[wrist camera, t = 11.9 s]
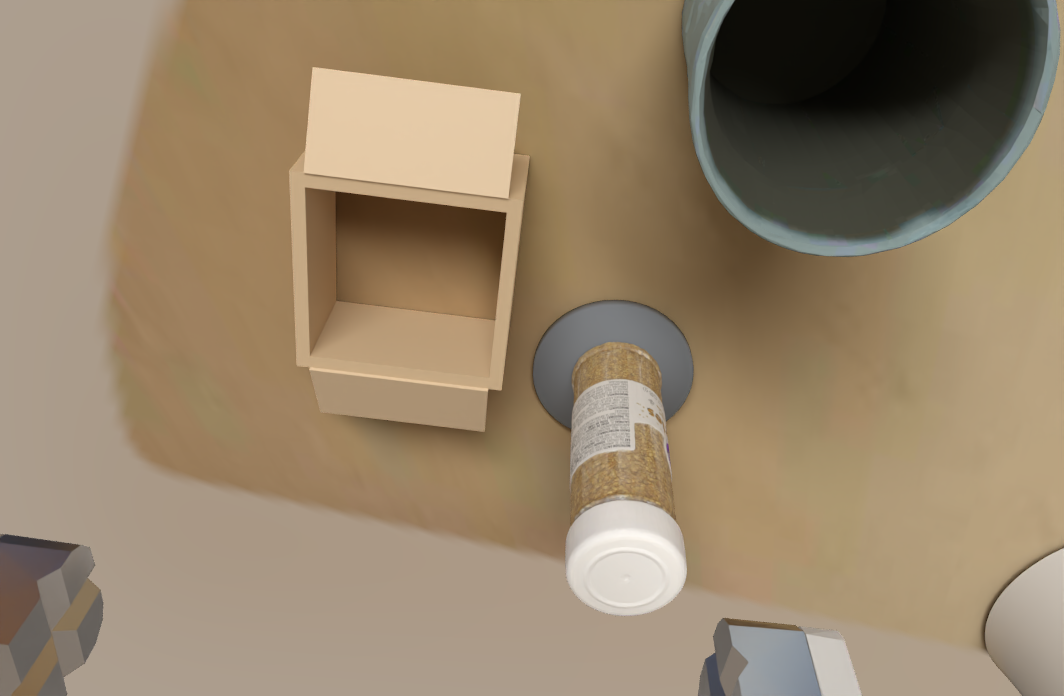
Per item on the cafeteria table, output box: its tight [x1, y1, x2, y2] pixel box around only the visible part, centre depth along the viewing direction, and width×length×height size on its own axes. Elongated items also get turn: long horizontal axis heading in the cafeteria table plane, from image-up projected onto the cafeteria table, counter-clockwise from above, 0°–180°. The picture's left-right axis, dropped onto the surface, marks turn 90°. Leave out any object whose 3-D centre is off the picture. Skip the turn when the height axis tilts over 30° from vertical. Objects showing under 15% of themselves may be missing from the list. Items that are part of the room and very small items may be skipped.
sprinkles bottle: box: [565, 342, 687, 616], centre depth 38 cm, size 5×5×14 cm
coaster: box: [533, 300, 693, 429], centre depth 44 cm, size 8×8×1 cm
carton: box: [289, 67, 530, 432], centre depth 39 cm, size 9×17×5 cm, turn 173°
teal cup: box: [682, 0, 1060, 257], centre depth 29 cm, size 10×10×12 cm
